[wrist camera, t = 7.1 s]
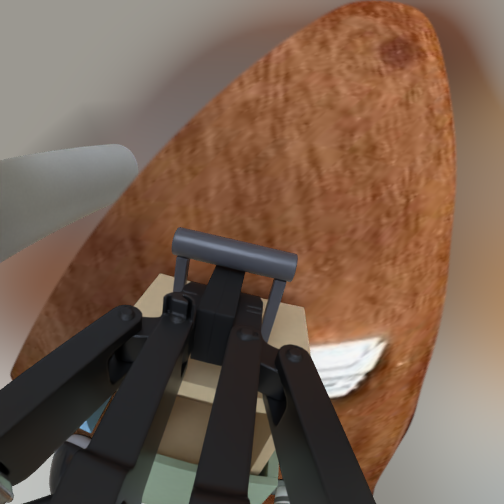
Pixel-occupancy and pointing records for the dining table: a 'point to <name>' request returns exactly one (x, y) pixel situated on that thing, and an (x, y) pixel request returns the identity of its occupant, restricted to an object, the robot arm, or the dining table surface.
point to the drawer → (207, 375)
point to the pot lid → (280, 493)
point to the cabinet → (183, 475)
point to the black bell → (65, 458)
